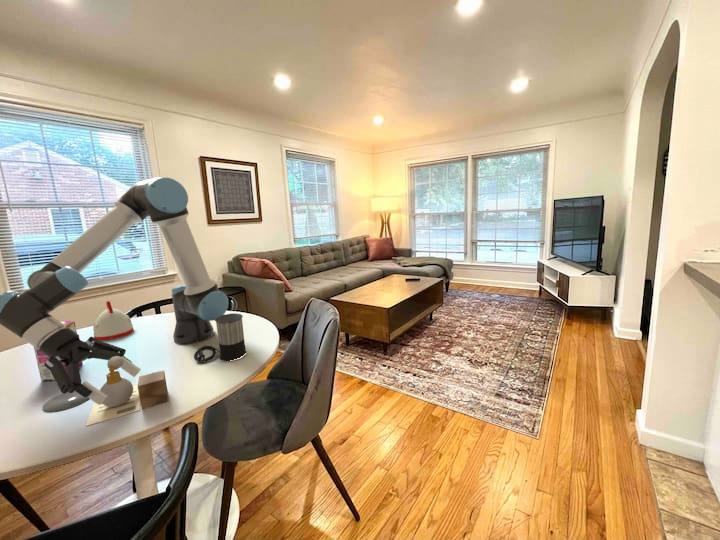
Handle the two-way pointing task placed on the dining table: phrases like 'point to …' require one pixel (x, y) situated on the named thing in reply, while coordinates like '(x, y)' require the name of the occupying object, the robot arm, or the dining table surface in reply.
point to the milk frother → (226, 339)
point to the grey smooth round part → (64, 401)
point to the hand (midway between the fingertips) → (122, 386)
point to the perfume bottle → (116, 385)
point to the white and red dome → (112, 324)
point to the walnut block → (152, 389)
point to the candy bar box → (42, 358)
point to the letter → (114, 409)
